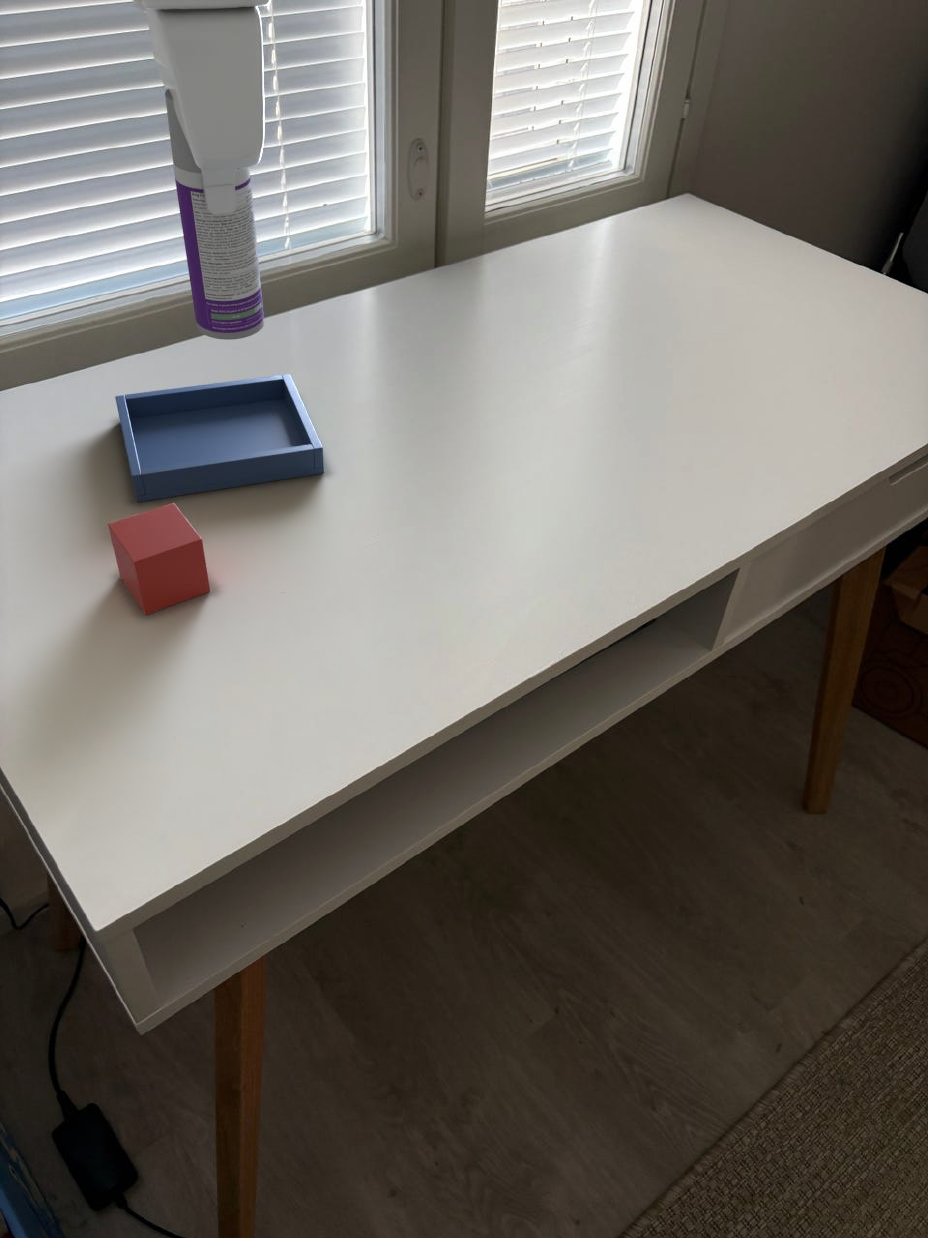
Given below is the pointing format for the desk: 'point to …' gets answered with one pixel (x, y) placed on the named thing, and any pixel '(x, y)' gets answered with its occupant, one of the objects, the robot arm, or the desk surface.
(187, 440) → the tray
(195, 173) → the container
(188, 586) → the red block
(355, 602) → the desk surface
